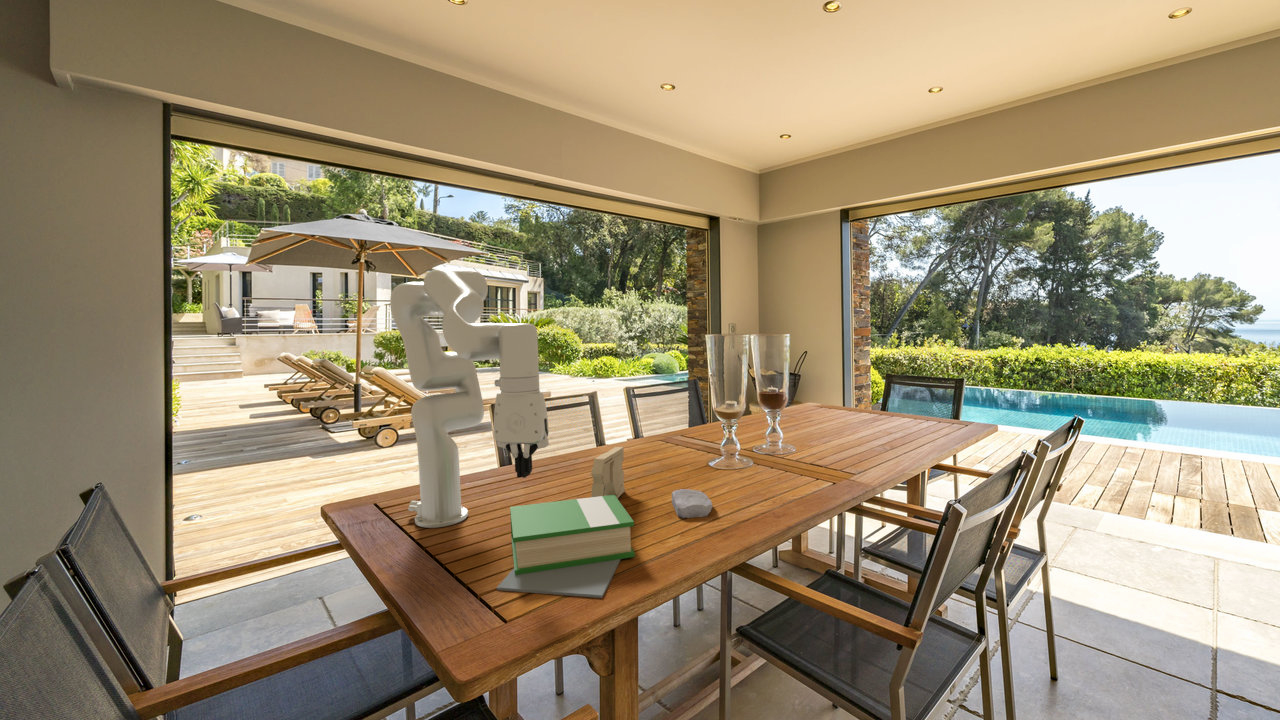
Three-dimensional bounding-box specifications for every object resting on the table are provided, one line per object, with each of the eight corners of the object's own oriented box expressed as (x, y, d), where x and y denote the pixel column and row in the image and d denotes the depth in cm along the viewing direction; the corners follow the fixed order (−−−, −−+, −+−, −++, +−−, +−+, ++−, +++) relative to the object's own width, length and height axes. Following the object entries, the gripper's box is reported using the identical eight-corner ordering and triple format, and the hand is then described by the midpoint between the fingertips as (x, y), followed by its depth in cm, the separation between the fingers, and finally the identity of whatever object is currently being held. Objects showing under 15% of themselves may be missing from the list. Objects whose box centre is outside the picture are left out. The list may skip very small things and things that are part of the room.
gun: (602, 523, 125) (601, 461, 125) (589, 522, 126) (588, 461, 126) (625, 498, 149) (624, 446, 149) (614, 498, 150) (613, 446, 150)
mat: (496, 589, 95) (496, 587, 95) (541, 540, 116) (540, 537, 116) (602, 598, 91) (602, 595, 91) (627, 544, 113) (627, 542, 113)
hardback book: (514, 575, 99) (634, 556, 106) (513, 537, 99) (634, 521, 105) (511, 538, 116) (615, 525, 123) (510, 506, 116) (614, 494, 122)
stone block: (704, 507, 140) (668, 502, 139) (707, 490, 139) (671, 485, 138) (714, 526, 128) (675, 520, 127) (718, 507, 128) (679, 502, 126)
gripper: (476, 387, 100) (480, 480, 102) (549, 387, 98) (552, 482, 99) (494, 383, 108) (498, 469, 109) (562, 383, 105) (565, 471, 106)
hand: (524, 475), depth 104 cm, fingers closed
